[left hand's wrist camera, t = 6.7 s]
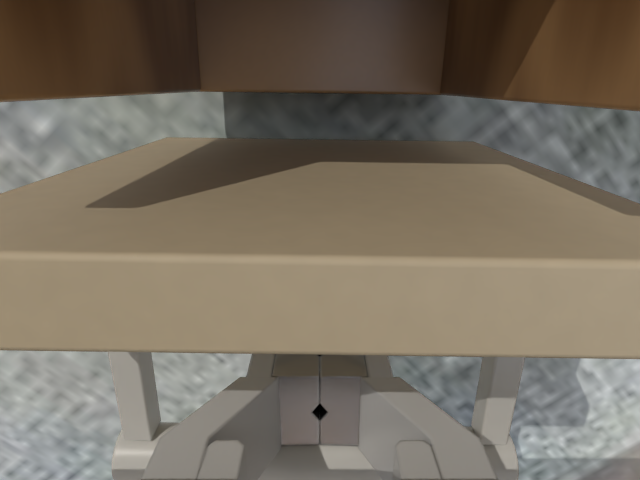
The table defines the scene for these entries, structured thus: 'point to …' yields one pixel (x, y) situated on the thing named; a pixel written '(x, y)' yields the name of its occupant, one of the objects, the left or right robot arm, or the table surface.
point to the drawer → (320, 202)
